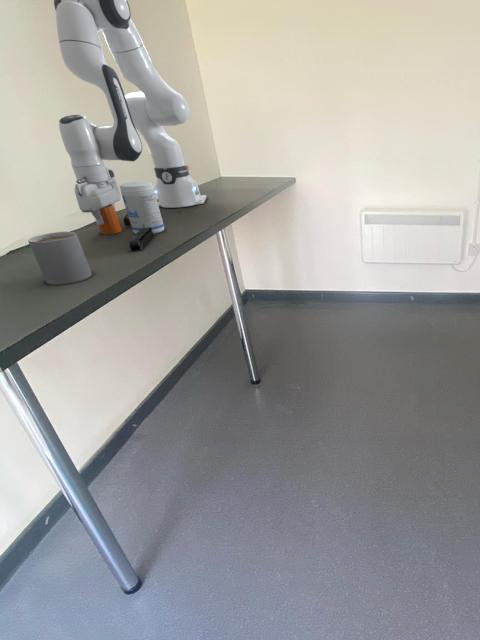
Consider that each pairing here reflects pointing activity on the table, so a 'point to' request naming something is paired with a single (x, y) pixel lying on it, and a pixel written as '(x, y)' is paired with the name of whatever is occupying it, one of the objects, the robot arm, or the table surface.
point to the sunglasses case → (127, 221)
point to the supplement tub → (142, 206)
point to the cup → (109, 220)
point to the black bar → (141, 239)
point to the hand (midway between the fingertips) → (107, 221)
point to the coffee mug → (60, 257)
